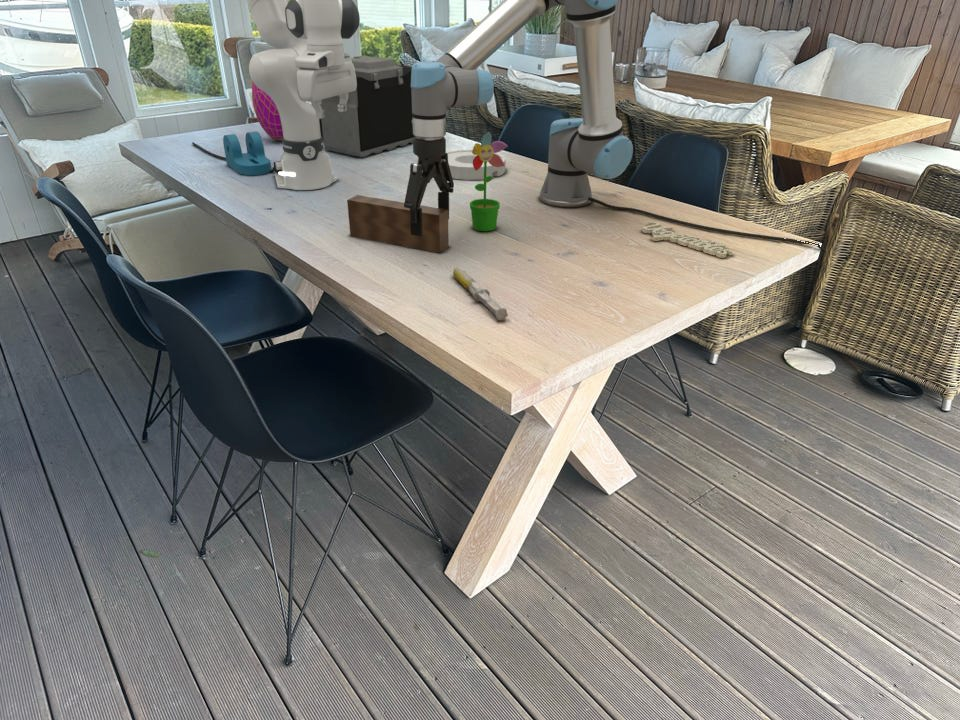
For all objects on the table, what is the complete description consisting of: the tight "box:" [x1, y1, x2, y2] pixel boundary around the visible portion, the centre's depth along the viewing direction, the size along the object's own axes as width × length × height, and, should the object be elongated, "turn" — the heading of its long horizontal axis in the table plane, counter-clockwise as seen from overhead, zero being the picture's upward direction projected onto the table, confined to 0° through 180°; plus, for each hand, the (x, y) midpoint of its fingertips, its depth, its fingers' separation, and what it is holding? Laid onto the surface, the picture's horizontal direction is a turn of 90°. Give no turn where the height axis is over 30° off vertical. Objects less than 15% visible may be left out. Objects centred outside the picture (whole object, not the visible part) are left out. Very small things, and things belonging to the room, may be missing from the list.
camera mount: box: [222, 131, 272, 176], centre depth 226 cm, size 18×10×10 cm, turn 35°
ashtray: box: [446, 149, 507, 181], centre depth 229 cm, size 23×23×4 cm
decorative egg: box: [251, 80, 306, 142], centre depth 257 cm, size 19×19×30 cm
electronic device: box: [319, 55, 415, 159], centre depth 250 cm, size 37×22×30 cm, turn 144°
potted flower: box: [469, 131, 509, 232], centre depth 175 cm, size 9×8×25 cm
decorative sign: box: [641, 221, 733, 259], centre depth 174 cm, size 26×1×10 cm
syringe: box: [452, 266, 509, 321], centre depth 145 cm, size 25×4×3 cm, turn 21°
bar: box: [346, 194, 450, 254], centre depth 170 cm, size 26×5×10 cm, turn 65°
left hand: (331, 114), depth 178 cm, fingers open, 8 cm apart
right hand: (430, 226), depth 166 cm, fingers open, 13 cm apart
